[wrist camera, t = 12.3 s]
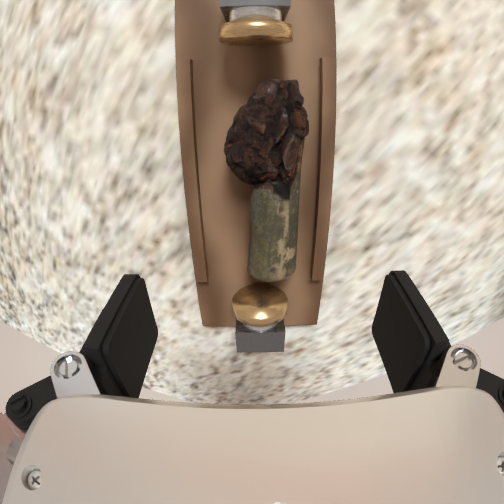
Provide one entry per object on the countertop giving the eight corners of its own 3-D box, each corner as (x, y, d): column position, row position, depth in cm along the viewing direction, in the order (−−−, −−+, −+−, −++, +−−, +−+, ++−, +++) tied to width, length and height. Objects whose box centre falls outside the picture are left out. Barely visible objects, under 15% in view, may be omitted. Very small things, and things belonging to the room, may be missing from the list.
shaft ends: (286, -7, 19) (294, -30, 14) (283, 319, 36) (286, 355, 31) (222, -6, 19) (214, -29, 14) (236, 320, 36) (233, 356, 31)
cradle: (329, -8, 20) (336, -16, 18) (314, 316, 38) (318, 331, 36) (178, -5, 20) (171, -14, 18) (204, 318, 38) (201, 332, 36)
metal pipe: (294, 258, 32) (299, 290, 27) (229, 256, 32) (224, 288, 27) (306, 81, 23) (318, 79, 19) (228, 78, 23) (220, 75, 19)
